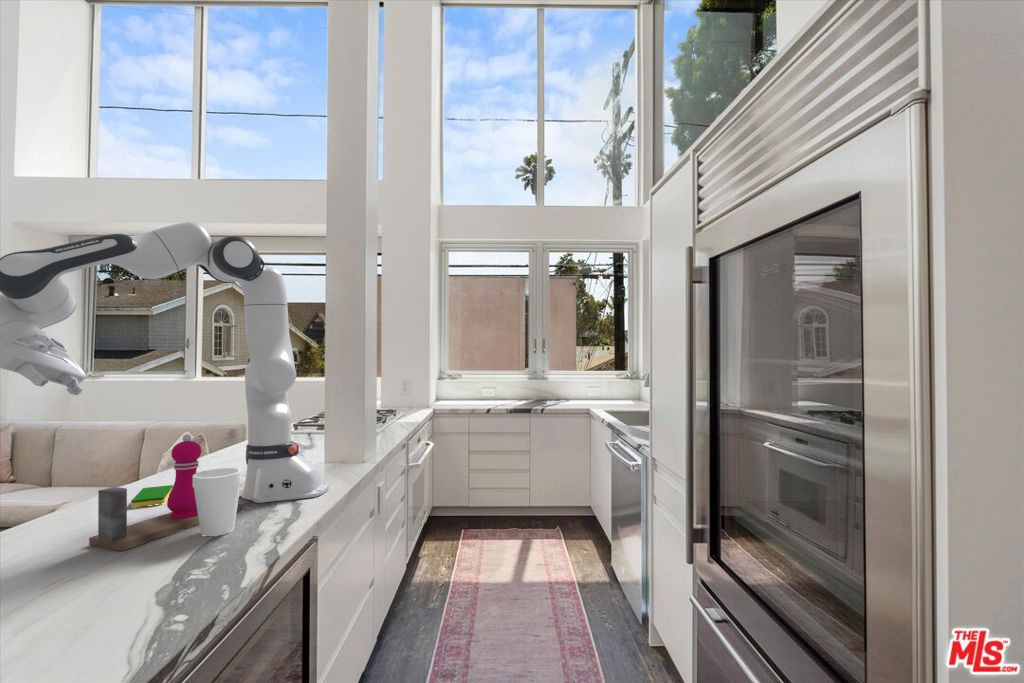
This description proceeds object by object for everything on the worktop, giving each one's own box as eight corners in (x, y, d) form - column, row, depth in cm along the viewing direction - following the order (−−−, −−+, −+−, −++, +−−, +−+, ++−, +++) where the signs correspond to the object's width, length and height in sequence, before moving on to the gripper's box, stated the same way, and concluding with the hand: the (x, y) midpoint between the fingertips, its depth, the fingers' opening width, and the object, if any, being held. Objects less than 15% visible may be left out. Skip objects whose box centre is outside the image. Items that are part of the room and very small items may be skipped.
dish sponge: (173, 493, 145) (173, 484, 146) (163, 506, 133) (163, 497, 133) (143, 496, 142) (143, 487, 142) (130, 510, 130) (130, 500, 130)
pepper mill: (185, 525, 115) (187, 436, 116) (158, 524, 116) (160, 436, 117) (210, 516, 122) (211, 432, 123) (184, 514, 123) (186, 432, 124)
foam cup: (250, 527, 115) (250, 470, 115) (211, 542, 106) (211, 479, 106) (222, 522, 119) (222, 466, 119) (183, 535, 110) (183, 475, 110)
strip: (212, 505, 131) (212, 461, 131) (240, 509, 128) (240, 463, 128) (89, 544, 105) (89, 489, 105) (120, 551, 101) (120, 493, 102)
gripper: (-10, 318, 99) (33, 365, 97) (70, 347, 118) (107, 387, 116) (-41, 340, 97) (2, 389, 95) (45, 366, 117) (82, 407, 115)
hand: (60, 388), depth 106 cm, fingers open, 8 cm apart
